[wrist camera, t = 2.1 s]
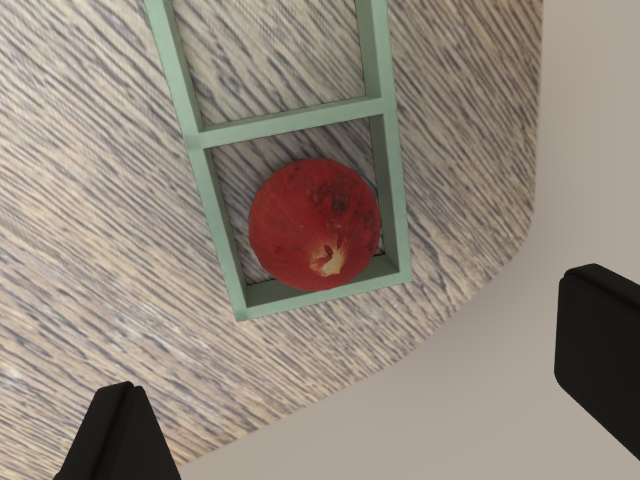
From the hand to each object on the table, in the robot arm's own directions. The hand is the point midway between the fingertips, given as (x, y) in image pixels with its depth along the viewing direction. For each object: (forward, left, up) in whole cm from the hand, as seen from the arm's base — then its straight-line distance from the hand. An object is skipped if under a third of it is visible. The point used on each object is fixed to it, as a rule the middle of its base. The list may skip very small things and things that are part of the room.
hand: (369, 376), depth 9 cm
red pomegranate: (0, 0, -14) cm, 14 cm away
